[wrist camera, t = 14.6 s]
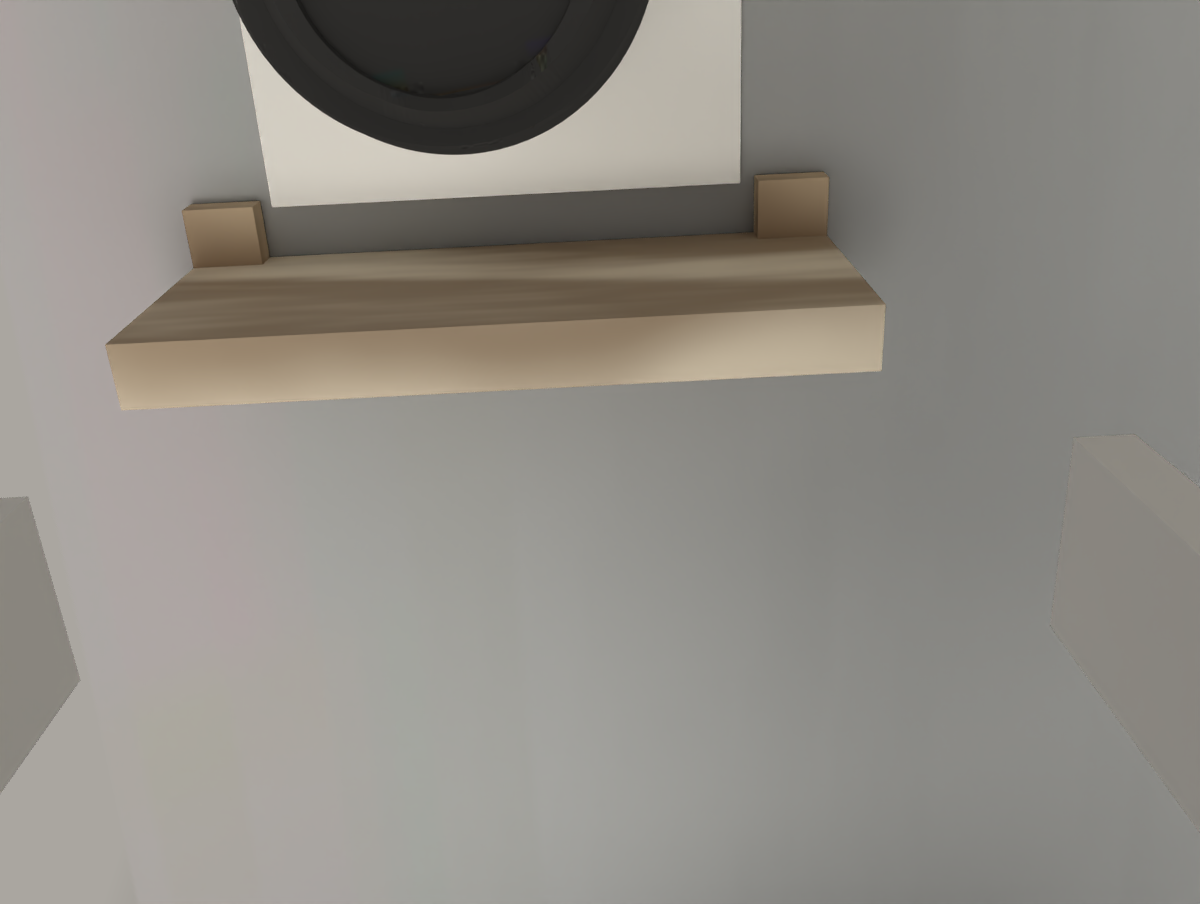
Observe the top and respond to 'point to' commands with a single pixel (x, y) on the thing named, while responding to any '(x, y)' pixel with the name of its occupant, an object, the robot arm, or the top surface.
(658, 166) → the display pad
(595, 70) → the coffee cup
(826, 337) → the wooden screen
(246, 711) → the top surface
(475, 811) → the top surface
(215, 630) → the top surface
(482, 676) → the top surface
